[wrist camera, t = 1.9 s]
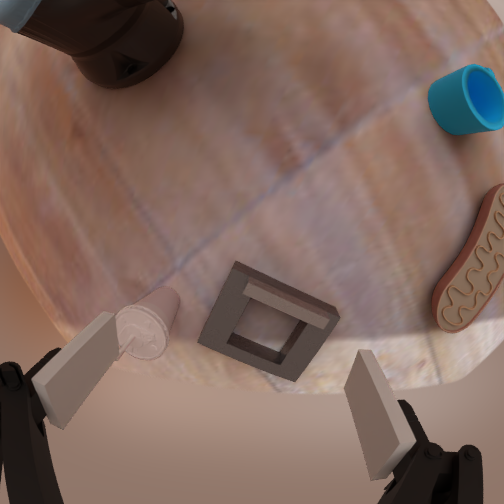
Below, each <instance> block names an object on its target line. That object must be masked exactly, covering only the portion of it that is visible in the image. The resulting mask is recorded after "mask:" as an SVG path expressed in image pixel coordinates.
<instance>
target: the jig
mask: <svg viewBox="0 0 504 504" xmlns="http://www.w3.org/2000/svg"><path fill="white" fill-rule="evenodd" d="M250 298H253V299H255V300H257V301H260V302H262V303H264V304H266V305H268V306H271V307H273V308H275V309H277V310H279V311H282V312H284V313H286V314H288V315H291V316H293V317H295V318H298V319H300V321H299V323H298V324H297V326H296V328H295V329H294V331H293V332H292V334H291V335H290V337H289V339H288V340H287V342H286V343H285V345H284V346H283V348H282V349H281V351H280V352H277V351H275V350H272V349H270V348H267V347H265V346H263V345H260V344H258V343H255V342H253V341H251V340H248V339H246V338H244V337H241V336H239V335H237V334H235V333H232V332H233V330H234V328H235V326H236V324H237V322H238V320H239V319H240V317H241V315H242V313H243V311H244V309H245V307H246V306H247V304H248V302H249V300H250ZM339 319H340V316H339V314H338V312H337V310H336V308H335V307H334V306H331V305H329V304H327V303H325V302H323V301H321V300H318V299H316V298H314V297H312V296H310V295H308V294H306V293H303V292H301V291H299V290H297V289H295V288H293V287H291V286H288V285H286V284H284V283H282V282H280V281H278V280H276V279H273V278H271V277H269V276H267V275H265V274H263V273H261V272H259V271H257V270H254V269H252V268H250V267H248V266H246V265H244V264H242V263H240V262H238V261H235V263H234V266H233V268H232V270H231V272H230V274H229V276H228V278H227V280H226V282H225V284H224V286H223V288H222V290H221V292H220V294H219V297H218V299H217V301H216V303H215V305H214V307H213V309H212V311H211V313H210V315H209V317H208V319H207V322H206V324H205V326H204V328H203V330H202V332H201V335H200V337H199V339H198V342H197V343H200V344H202V345H204V346H206V347H208V348H211V349H213V350H215V351H217V352H220V353H222V354H224V355H226V356H229V357H231V358H233V359H236V360H238V361H241V362H243V363H246V364H248V365H250V366H253V367H256V368H258V369H261V370H263V371H266V372H268V373H271V374H274V375H276V376H279V377H282V378H285V379H287V380H290V381H293V382H296V380H297V379H298V378H299V376H300V375H301V374H302V372H303V371H304V370H305V368H306V367H307V366H308V364H309V363H310V362H311V360H312V359H313V357H314V356H315V355H316V353H317V352H318V350H319V349H320V348H321V346H322V345H323V343H324V342H325V340H326V339H327V337H328V336H329V334H330V333H331V332H332V330H333V329H334V327H335V326H336V324H337V322H338V321H339Z"/></svg>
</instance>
